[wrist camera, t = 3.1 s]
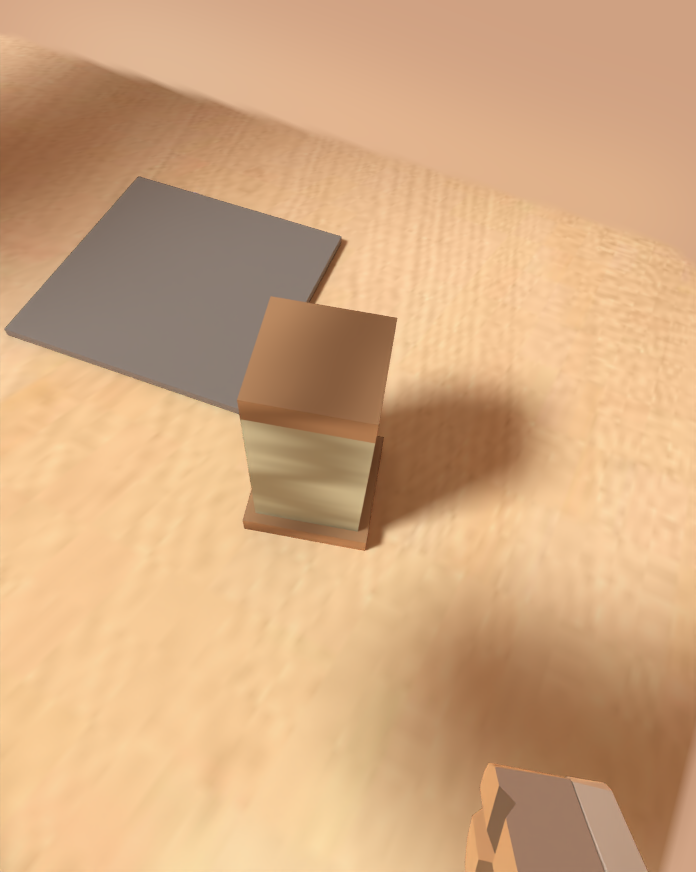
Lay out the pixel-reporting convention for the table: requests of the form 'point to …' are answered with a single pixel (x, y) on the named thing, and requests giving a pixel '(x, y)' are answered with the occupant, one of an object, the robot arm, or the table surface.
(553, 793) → the robot arm
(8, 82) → the table surface
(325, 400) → the banded square pillar
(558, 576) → the table surface
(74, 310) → the mat
